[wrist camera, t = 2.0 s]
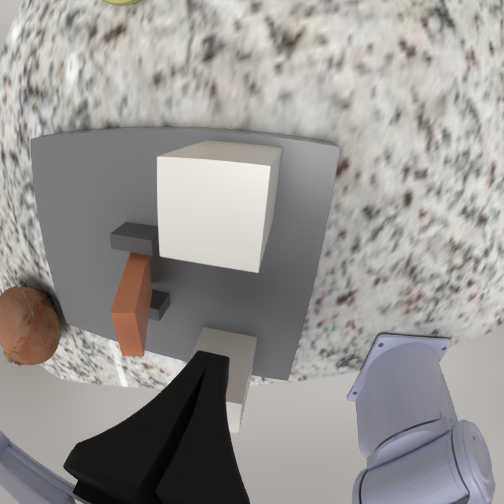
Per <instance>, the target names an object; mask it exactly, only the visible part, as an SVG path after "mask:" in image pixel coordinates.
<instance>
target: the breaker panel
mask: <svg viewBox="0 0 504 504" xmlns="http://www.w3.org/2000/svg"><path fill="white" fill-rule="evenodd" d="M207 140H210V141H224V142H236V143H247V144H257V145H266V146H274V147H282V149H281V158H280V166H279V175H278V183H277V192H276V200H275V208H274V216H273V221H272V225H271V228H270V232H269V236H268V239H267V243H266V247H265V250H264V254H263V258H262V261H261V265H260V269H259V272H258V273H256V272H250V271H244V270H237V269H231V268H225V267H219V266H213V265H207V264H201V263H195V262H189V261H183V260H178V259H172V258H166V257H161V256H160V251H159V233H158V207H157V156H160V155H163V154H166V153H169V152H172V151H175V150H178V149H181V148H184V147H187V146H190V145H194V144H197V143H200V142H204V141H207ZM339 150H340V147H339V146H338V145H336V144H335V143H334V142H328V141H323V140H317V139H310V138H304V137H297V136H290V135H282V134H274V133H265V132H256V131H245V130H233V129H218V128H198V127H124V128H105V129H91V130H80V131H70V132H61V133H54V134H49V135H45V136H41V137H37V138H33V139H31V158H32V171H33V181H34V189H35V197H36V204H37V211H38V217H39V222H40V228H41V233H42V238H43V243H44V247H45V251H46V256H47V260H48V264H49V268H50V272H51V275H52V279H53V282H54V286H55V289H56V293H57V296H58V299H59V302H60V305H61V308H62V311H63V314H64V317H65V320H66V323H67V324H70V325H72V326H75V327H78V328H80V329H83V330H86V331H88V332H91V333H94V334H97V335H99V336H102V337H105V338H108V339H111V340H114V341H117V342H118V338H117V334H116V331H115V327H114V323H113V319H112V315H111V310H112V307H113V304H114V300H115V297H116V294H117V291H118V288H119V285H120V281H121V278H122V275H123V272H124V270H125V267H126V264H127V261H128V258H129V255H130V252H132V253H138V254H143V255H149V263H150V273H151V283H152V297H151V304H150V311H149V318H148V326H147V334H146V342H145V350H146V351H150V352H153V353H157V354H160V355H164V356H168V357H171V358H175V359H179V360H183V361H187V362H188V361H189V358H190V356H191V354H192V352H193V349H194V347H195V345H196V343H197V340H198V338H199V336H200V333H201V331H202V329H203V327H207V328H212V329H217V330H222V331H227V332H232V333H238V334H243V335H249V336H255V337H257V342H256V349H255V356H254V363H253V370H252V375H255V376H261V377H267V378H274V379H281V380H288V378H289V375H290V371H291V368H292V364H293V361H294V357H295V354H296V350H297V347H298V343H299V339H300V336H301V332H302V328H303V324H304V321H305V317H306V313H307V309H308V305H309V301H310V297H311V293H312V288H313V284H314V280H315V276H316V271H317V267H318V262H319V258H320V253H321V249H322V244H323V239H324V234H325V229H326V224H327V219H328V214H329V209H330V203H331V198H332V192H333V187H334V181H335V175H336V169H337V163H338V157H339Z"/></svg>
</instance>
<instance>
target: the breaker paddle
mask: <svg viewBox="0 0 504 504" xmlns="http://www.w3.org/2000/svg"><path fill="white" fill-rule="evenodd" d="M151 297H152V283H151V273H150V263H149V255H143V254H138V253H132V252H130V255H129V258H128V261H127V264H126V267H125V270H124V272H123V275H122V278H121V281H120V285H119V288H118V291H117V294H116V297H115V300H114V304H113V307H112V310H111V315H112V319H113V323H114V327H115V331H116V334H117V338H118V342H119V345H120V349H121V352H122V355H123V356H144V352H145V342H146V334H147V326H148V318H149V311H150V304H151Z"/></svg>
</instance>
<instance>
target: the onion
mask: <svg viewBox="0 0 504 504" xmlns="http://www.w3.org/2000/svg"><path fill="white" fill-rule="evenodd" d="M35 289H36V288H35ZM56 313H57V312H56V311H55V307H54V304H53V303H52V301H51V300H50V299H49V297H47V296H46V294H45V292H41V291H39V290H38V291H37V290H34V289H32V288H31V287H29V288H27V287H18V286H15V287H12V288H9V289H7V290H6V291H4V293H3V294H2V295H1V296H0V343H1V345H2V347H3V348H4V354H5V357H6V359H7V360H8V361H9V362H10V363H12V362H15V364H18V365H35V364H39V363H43V362H45V361H47V360H48V359H50V358H51V357H52V356H53V354H54V353H55V351H56V349H57V347H58V344H59V340H60V324H59V320H58V317H57V314H56Z"/></svg>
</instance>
